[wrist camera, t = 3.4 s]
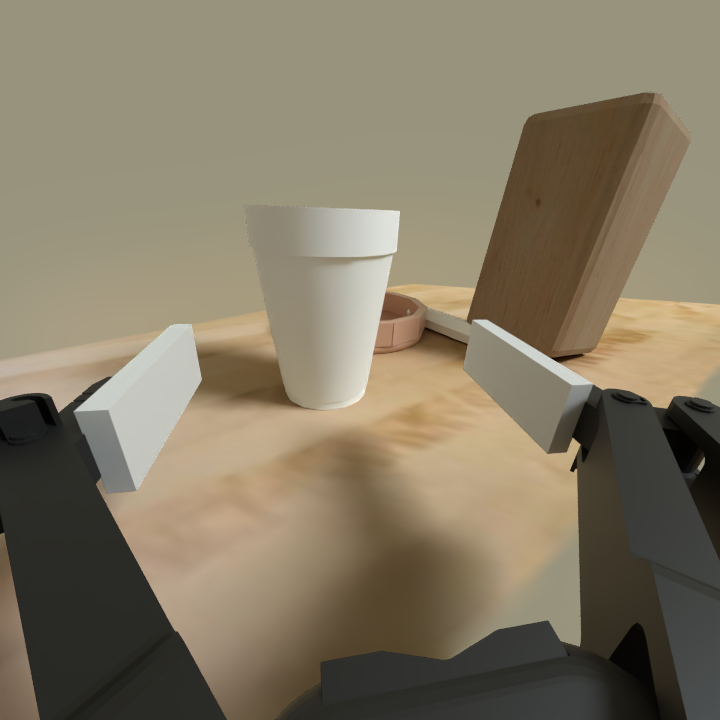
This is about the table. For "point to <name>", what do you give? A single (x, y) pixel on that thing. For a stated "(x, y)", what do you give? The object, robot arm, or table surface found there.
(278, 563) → the table surface
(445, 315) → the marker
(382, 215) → the foam cup
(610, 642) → the robot arm
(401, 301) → the bowl
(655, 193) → the wooden block
